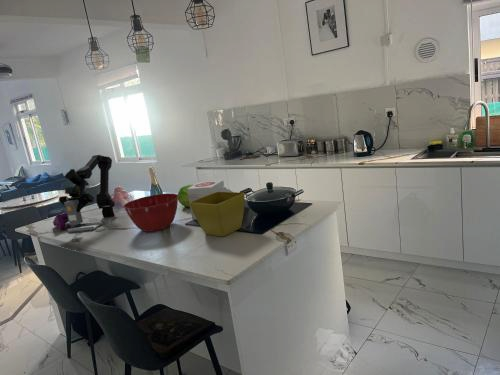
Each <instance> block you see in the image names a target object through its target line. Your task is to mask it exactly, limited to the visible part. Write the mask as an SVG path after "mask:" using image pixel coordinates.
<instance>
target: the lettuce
mask: <svg viewBox="0 0 500 375" xmlns="http://www.w3.org/2000/svg"><path fill="white" fill-rule="evenodd" d="M193 185H194V184H187V185H185V186H182V187H180V189H179V191H178V193H177V195H178V203H179V204H181V206H183V207H186V208H190V203H189V198H188V193H187V189H188V188H189V187H191V186H193Z"/></svg>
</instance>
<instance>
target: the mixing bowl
mask: <svg viewBox="0 0 500 375" xmlns="http://www.w3.org/2000/svg"><path fill="white" fill-rule="evenodd" d="M178 203H179V201H178V193H177V194H176V193H159V194H153V195H147V196H143V197H139V198H137V199H133V200H130V201H128V202H127V203H125V204H124V205H123V208H124V210H125V212H126V214H127V216H128V217H129V218H130V220H131V221H132V223H133V224H134V225H135V226H136V228H138V229H139V230H141V231H143V232H146V233H155V232H158V231H162V230H165V229H168V227H170V225H172V224H173V222H174V220H175V218H176V216H177V215H176V214H177V210H178Z"/></svg>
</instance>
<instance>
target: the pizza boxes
mask: <svg viewBox="0 0 500 375" xmlns="http://www.w3.org/2000/svg"><path fill="white" fill-rule="evenodd" d="M192 185H193V186H191V187H189V188H188V189H187V193H188V198H189V203H190V202H191V201H194V200H197V199H199V198H202V197H204V196H207V195H210V194H212V193H215V192H233V191H232V190H231V189H229V188H227V187H225V182H224V180H211V181H200V182H197V183H195V184H192ZM189 208H190V214H191V219H192V220H195V221H197V219H196V217H195V215H194V213H193V210H192V208H191V205H190V207H189Z"/></svg>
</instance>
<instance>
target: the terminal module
mask: <svg viewBox="0 0 500 375" xmlns="http://www.w3.org/2000/svg"><path fill="white" fill-rule="evenodd" d="M78 203H79V201H78V200H70V201H67V202H64V204H63V206H64V208H65V211H66V212H67V216H68V220H69V222H68V223H69V226H71V225H77V224H80V223H84V221H83V216H82V211H81V210H80V211H79V212H77V207H78ZM66 212H65V213H66Z"/></svg>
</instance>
